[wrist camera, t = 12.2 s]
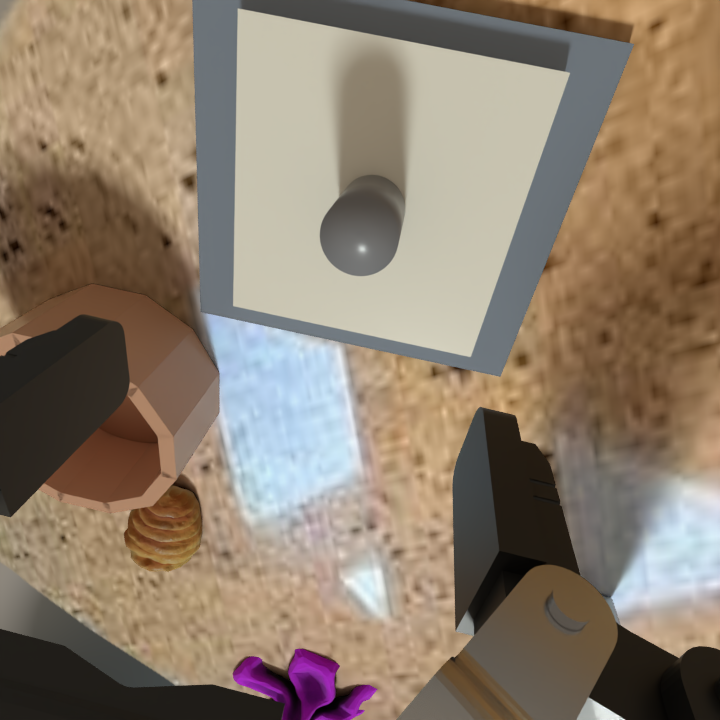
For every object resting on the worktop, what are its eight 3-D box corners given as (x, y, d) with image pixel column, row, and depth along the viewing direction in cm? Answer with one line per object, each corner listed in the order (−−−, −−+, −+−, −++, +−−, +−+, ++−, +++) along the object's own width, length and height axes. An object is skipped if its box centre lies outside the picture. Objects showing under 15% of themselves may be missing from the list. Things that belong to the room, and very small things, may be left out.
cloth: (286, 725, 67) (274, 780, 62) (203, 658, 59) (181, 714, 54) (427, 711, 58) (426, 773, 53) (351, 631, 51) (341, 695, 46)
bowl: (219, 310, 31) (168, 367, 25) (219, 459, 39) (180, 529, 33) (19, 267, 32) (-77, 313, 26) (58, 423, 39) (-9, 485, 33)
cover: (565, 72, 21) (604, 73, 16) (469, 348, 29) (476, 407, 24) (245, 10, 22) (187, -7, 17) (238, 299, 30) (198, 346, 25)
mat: (629, 44, 21) (634, 43, 20) (499, 371, 31) (500, 376, 30) (197, -39, 21) (191, -41, 21) (204, 307, 31) (200, 311, 31)
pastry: (143, 466, 41) (118, 500, 38) (216, 492, 41) (198, 527, 38) (135, 528, 46) (112, 563, 43) (200, 550, 47) (183, 586, 43)
